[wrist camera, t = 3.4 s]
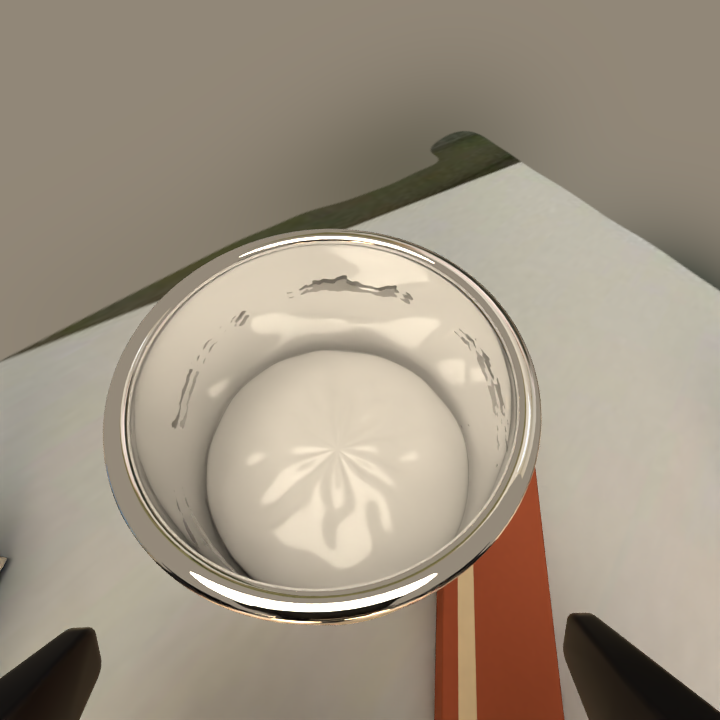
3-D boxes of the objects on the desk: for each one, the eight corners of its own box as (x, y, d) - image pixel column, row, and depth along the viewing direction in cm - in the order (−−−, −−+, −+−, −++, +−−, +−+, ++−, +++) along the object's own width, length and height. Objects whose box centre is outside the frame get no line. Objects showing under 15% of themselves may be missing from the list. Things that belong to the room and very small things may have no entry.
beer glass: (386, 636, 16) (501, 805, 3) (247, 562, 18) (-38, 484, 5) (435, 484, 20) (585, 282, 7) (316, 433, 21) (254, 186, 8)
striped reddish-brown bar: (518, 414, 22) (528, 403, 20) (551, 751, 14) (571, 767, 13) (440, 405, 22) (445, 393, 21) (433, 730, 15) (441, 744, 13)
